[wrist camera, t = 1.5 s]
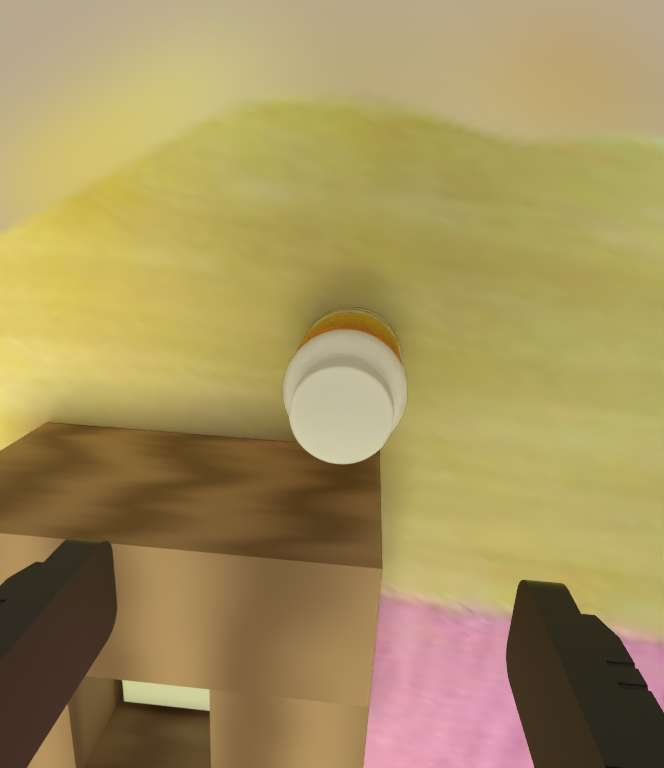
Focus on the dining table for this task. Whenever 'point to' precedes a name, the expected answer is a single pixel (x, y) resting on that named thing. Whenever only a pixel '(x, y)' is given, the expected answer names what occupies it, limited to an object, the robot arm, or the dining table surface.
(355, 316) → the supplement bottle
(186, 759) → the walnut block
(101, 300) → the dining table surface
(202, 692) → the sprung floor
